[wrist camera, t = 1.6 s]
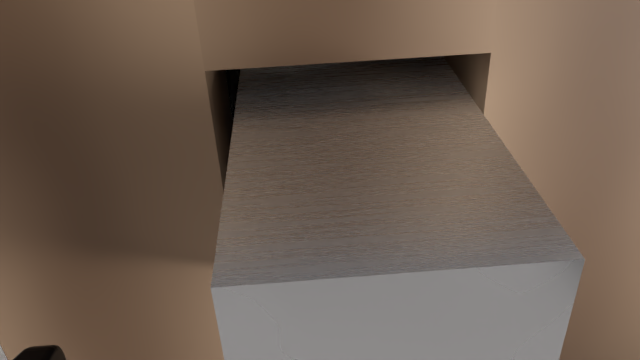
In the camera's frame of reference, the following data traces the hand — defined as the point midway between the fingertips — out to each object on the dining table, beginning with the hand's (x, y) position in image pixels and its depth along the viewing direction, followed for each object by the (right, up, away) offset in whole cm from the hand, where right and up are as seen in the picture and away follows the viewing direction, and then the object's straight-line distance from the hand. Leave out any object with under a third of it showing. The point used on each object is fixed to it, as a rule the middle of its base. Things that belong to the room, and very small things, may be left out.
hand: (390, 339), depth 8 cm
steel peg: (-1, +4, +6) cm, 7 cm away
